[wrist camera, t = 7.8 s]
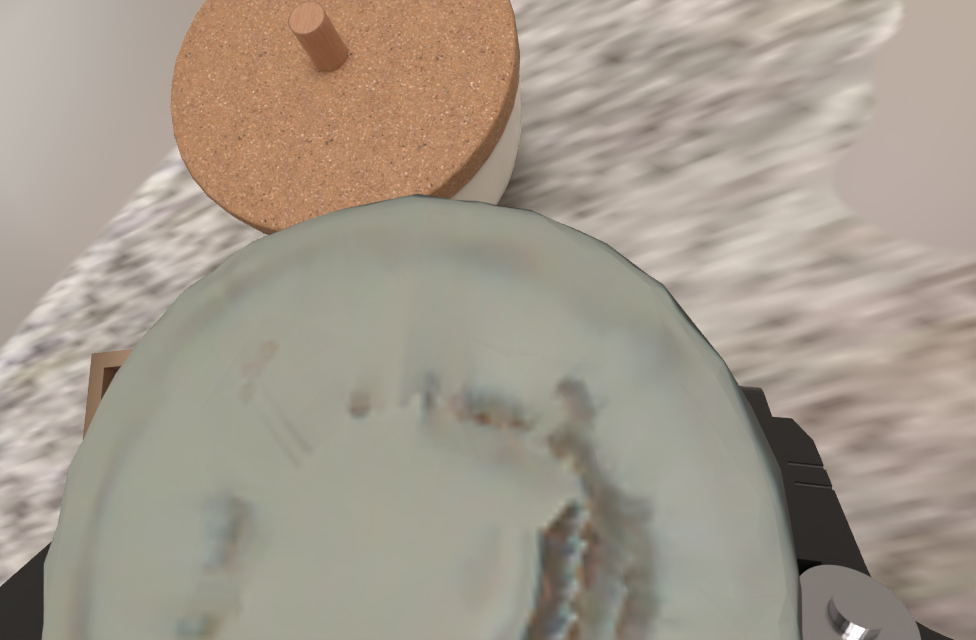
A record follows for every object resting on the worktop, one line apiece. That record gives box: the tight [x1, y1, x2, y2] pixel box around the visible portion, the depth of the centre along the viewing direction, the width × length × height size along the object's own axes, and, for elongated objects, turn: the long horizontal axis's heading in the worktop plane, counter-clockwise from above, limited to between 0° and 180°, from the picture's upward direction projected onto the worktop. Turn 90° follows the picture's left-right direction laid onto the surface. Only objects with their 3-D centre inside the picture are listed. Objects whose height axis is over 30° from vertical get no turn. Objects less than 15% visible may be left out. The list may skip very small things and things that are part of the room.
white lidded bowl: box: [171, 0, 522, 235], centre depth 22 cm, size 13×13×11 cm
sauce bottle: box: [42, 194, 803, 640], centre depth 12 cm, size 7×6×20 cm
